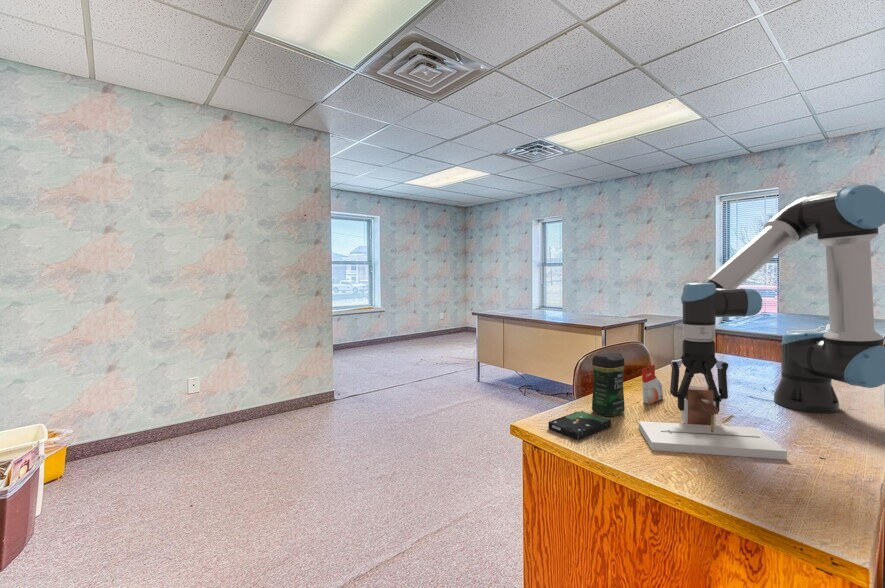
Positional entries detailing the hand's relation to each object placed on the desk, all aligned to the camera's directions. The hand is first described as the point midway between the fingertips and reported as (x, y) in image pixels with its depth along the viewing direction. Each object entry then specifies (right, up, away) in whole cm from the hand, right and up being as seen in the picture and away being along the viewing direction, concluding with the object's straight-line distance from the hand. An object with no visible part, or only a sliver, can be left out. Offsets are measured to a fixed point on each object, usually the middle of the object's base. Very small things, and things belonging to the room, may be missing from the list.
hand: (698, 422), depth 110 cm
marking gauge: (-1, -2, -4) cm, 4 cm away
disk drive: (-32, -3, +3) cm, 32 cm away
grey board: (-4, -2, -9) cm, 10 cm away
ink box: (0, -1, +24) cm, 24 cm away
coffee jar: (-19, -2, +14) cm, 24 cm away
